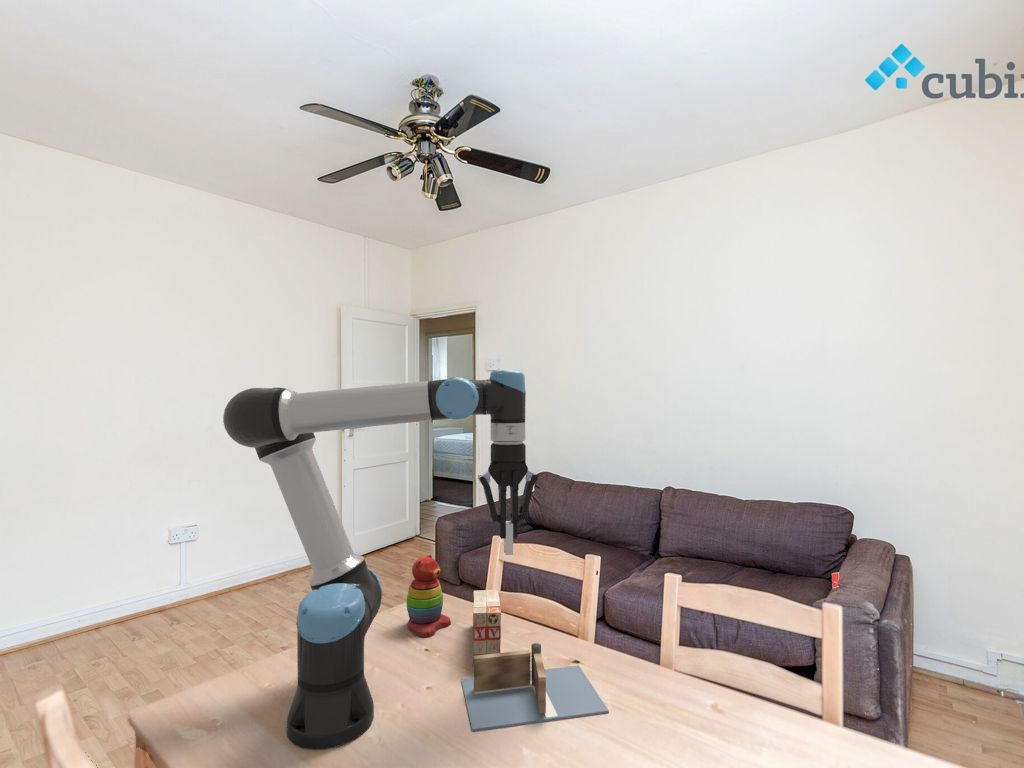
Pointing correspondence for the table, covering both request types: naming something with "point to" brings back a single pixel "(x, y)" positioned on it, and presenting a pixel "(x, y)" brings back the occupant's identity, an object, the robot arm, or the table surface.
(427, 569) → the stacking bear
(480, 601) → the stack of blocks
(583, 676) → the board
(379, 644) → the table surface
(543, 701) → the fence folding panel
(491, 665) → the fence fixed panel
